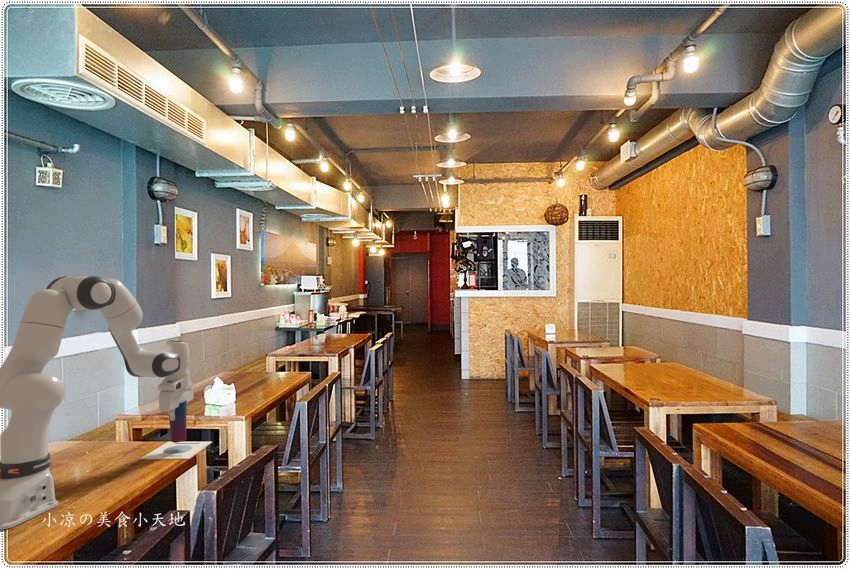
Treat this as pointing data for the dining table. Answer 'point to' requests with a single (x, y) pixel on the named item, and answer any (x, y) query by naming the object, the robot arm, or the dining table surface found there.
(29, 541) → the dining table surface
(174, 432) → the cup
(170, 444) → the paper sheet
